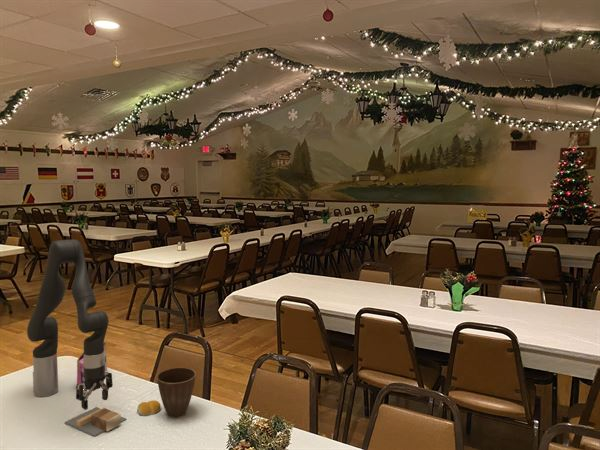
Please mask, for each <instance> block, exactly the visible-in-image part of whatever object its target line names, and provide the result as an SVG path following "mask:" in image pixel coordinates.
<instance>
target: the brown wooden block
mask: <svg viewBox="0 0 600 450" xmlns="http://www.w3.org/2000/svg"><path fill="white" fill-rule="evenodd" d="M103 408H104V409H102V408H101V409H102V410H100V411H98V412H96V413H94V414H92V415H91V422H92V425H93V426H95V427H98V428H100V429H102V430H105V432H109V431H111V430H113V429H115V428H117V427H118V426H120V425H121V424H122V423H121V417H122V416H121V413H120V412H119V413H118V412H116V411H114V410H111V409H108V408H107V409H106V407H103Z"/></svg>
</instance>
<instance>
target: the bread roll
mask: <svg viewBox="0 0 600 450" xmlns="http://www.w3.org/2000/svg"><path fill="white" fill-rule="evenodd" d="M161 407H162V406H161V403H160V402H159V401H158V400H148V401H147V402H145V401H143V402H140V403H139V404H138V406H137V409H136V411H137V412H136V413H138V415H139V416H150V415H155V414H158V413H159V411H160V410H161Z"/></svg>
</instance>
